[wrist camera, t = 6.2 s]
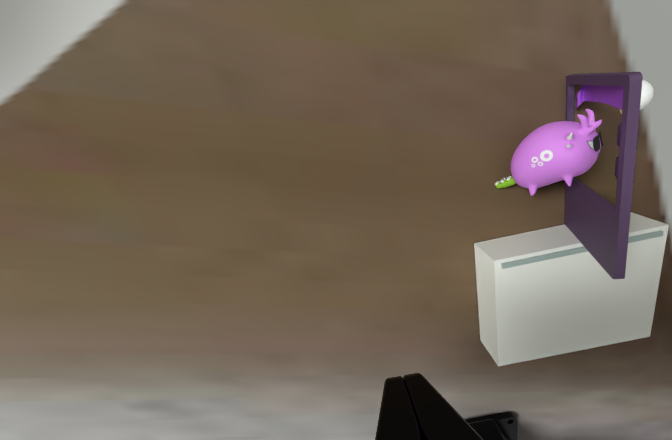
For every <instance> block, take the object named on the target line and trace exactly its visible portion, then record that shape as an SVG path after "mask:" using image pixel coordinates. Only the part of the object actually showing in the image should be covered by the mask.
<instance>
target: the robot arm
mask: <svg viewBox="0 0 672 440" xmlns="http://www.w3.org/2000/svg"><path fill="white" fill-rule="evenodd" d="M375 440H517V420H516V418H515V416H514V415H513V414H512V413H504V414H499V415H494V416H489V417H483V418H478V419H473V420H468V421H465V420H464V419H463V418H462V417H461V416H460V415H459V413H458V412H457V411H456V410H455V409H454V408H453V407H452V406H451V405H450V404H449V403H448V402H447V401H446V400H445V399H444V398H443V397H442V396H441V394H440V393H439V392H438V391H437V390H436V389H435V388H434V387H433V386H432V385H431V384H430V383H429V382H428V381H427V380H426V379H425V378H424V377H423V376H422V375H421V374H420V373H414V374H409V375H405V376H404V377H403V378H402V377H401V376H398V377H392V378H387V379H386V380H385V384H384V390H383V396H382V402H381V408H380V414H379V420H378V426H377V432H376V438H375Z"/></svg>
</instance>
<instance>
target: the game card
mask: <svg viewBox="0 0 672 440" xmlns="http://www.w3.org/2000/svg"><path fill="white" fill-rule="evenodd" d="M575 84H578V85H583V86H582V87H581V89H580V91H579V93H578V94H577V95H576V99H577V105H576V109H577V108H578V106H579V105H580V104H581V103H582V102H584V101H592V102H601V103H606V104H609V105H612V106H614V107H616V108H618V109H619V110H620V112H621V114H622V120H621V124H620V125H619V126H618V135H617V145H618V146H619V148H620V149H619V157H617V158H616V165H615V176H616V178H617V192H616V206H614V205H612V204H611V203H610V202H608V201H607V200H605V199H604V198H603V197H601V196H600V195H599V194H597V193H596V192H594V191H593V190H592V189H590V188H589V187H587V186H586V185H585V184H583V183H582V182H580V181H579V180H578V179H576V178H575V177H576V176H579V175H581V174H583V173H585V172H586V171H588V170H589V169H590V168H591V167H592V166H593V164H594V163H595V161H596V160H597V158H598V155H599V153H600V149H601V144H602V146H603V143H602V137H601V132H600V131H599V132H600V133H599V134H598V133H597V132H596V131H595V129H596V128H597V127H598V126H599V125H600V124H601V122H602V120H599V121H597V122H595V118H594V112H593V111H592V110H590V109H586V112H587V114H588V119H587V117H586V116H584V115H580V114H579V115H577V116H578V118H579V119H580V121H581V123H579V122H574V101H575ZM653 92H654V91H653V87H652V86H651V84H649V83H648V82H647V81H645V80H642V74H641V73H640V72H619V73H589V74H573V75H568V76H566V121H558V122H552V123H548V124H545V125H543V126H541V127H539V128H537V129H536V130H534V131H533V132H531V133H530V134H529V135H528V136H527V137H526V138H525V139H524V140H523V141H522V142H521V143H520V144H519V146H518V147H517V149H516V150H515V152H514V154H513V157H512V161H511V173H512V177H511V176H509V178H508V177H507V179H505V178H504V180H502V179H501V181H500V182H499V181H498V183H497V182H496V184H495V185H496V187H497V188H498V189H500V188H506V187H508V186H511V185H514V184H518V185H519V186H521V187H524V188H528V189H529V192H530V195H531V196H533V195H534V194H535V192H536V190H537V188H540V187H544V186H547V185H550V184H553V183H556V182H559V181H562V180H564V181H565V221H564V224H565V225H566V226H567V227H568V229H569V230H570V231H571V232H572V233H573V234H574V235H575V236H576V238H577V239H578V240H579V241H580V242H581V243H582V245H583V246H584V247H585V248H586V249H587V250H588V251H589V253H590V254H591V255H592V256H593V257H594V258H595V259H596V261H597V262H598V263H599V264H600V265H601V266H602V267H603V269H604V270H605V271H606V272H607V273H608V274H609V275H610V277H611V278H612V279H624V278H625V271H626V260H627V248H628V237H629V226H630V215H631V203H632V192H633V183H634V174H635V158H636V149H637V140H638V124H639V113H640V110H641V109H643V108H644V107H646V106H647V105H648V104H649V103H650V101H651V99H652V97H653ZM600 139H601V140H600Z"/></svg>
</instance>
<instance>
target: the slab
mask: <svg viewBox="0 0 672 440" xmlns="http://www.w3.org/2000/svg"><path fill="white" fill-rule="evenodd" d="M668 226H669V225H668V224H665V223H662V222H659V221H656V220H653V219H650V218H647V217H644V216H641V215H638V214H635V213H632V212H631V215H630V226H629V237H628V248H627V260H626V271H625V278H624V279H612V278H611V277H610V275H609V274H608V273H607V272H606V271H605V270H604V269H603V267H602V266H601V265H600V264H599V263H598V262H597V261H596V259H595V258H594V257H593V256H592V255H591V254H590V253H589V251H588V250H587V249H586V248H585V247H584V246H583V245H582V243H581V242H580V241H579V240H578V239H577V238H576V236H575V235H574V234H573V233H572V232H571V231H570V230H569V229H568V227H567V226H566V225H565V224H564V225H560V226H555V227H550V228H545V229H540V230H536V231H531V232H526V233H521V234H516V235H512V236H507V237H502V238H497V239H492V240H488V241H483V242H478V243H474V248H475V263H476V279H477V295H478V311H479V326H480V340H481V342H482V343H483V345H484V346H485V348H486V349H487V351H488V352H489V353H490V355H491V356H492V358H493V359H494V361H495V362H496V364H497V365H498V366H503V365H508V364H513V363H518V362H523V361H529V360H534V359H539V358H544V357H549V356H554V355H559V354H564V353H569V352H574V351H579V350H584V349H589V348H595V347H600V346H605V345H610V344H615V343H620V342H625V341H630V340H635V339H640V338H645V337H650V334H651V328H652V322H653V316H654V310H655V304H656V298H657V292H658V286H659V280H660V274H661V268H662V262H663V256H664V250H665V244H666V238H667V232H668Z"/></svg>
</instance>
